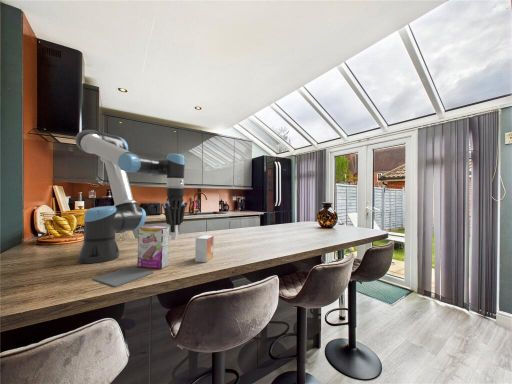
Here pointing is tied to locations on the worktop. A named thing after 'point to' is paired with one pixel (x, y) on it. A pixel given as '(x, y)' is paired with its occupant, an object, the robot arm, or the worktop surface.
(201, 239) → the small box
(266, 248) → the worktop surface
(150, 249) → the candy bar box
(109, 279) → the mat
